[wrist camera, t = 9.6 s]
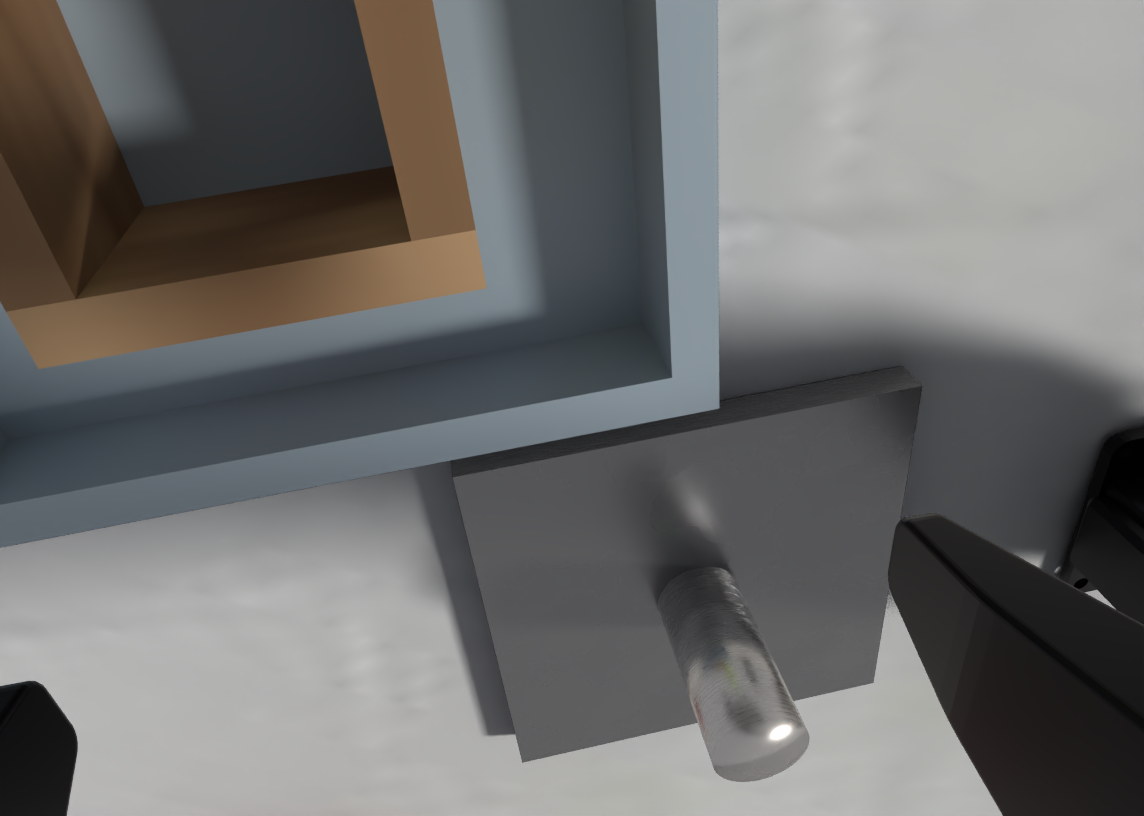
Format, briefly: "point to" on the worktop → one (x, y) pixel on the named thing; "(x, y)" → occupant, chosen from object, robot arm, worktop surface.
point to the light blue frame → (410, 330)
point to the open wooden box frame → (218, 209)
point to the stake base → (694, 568)
